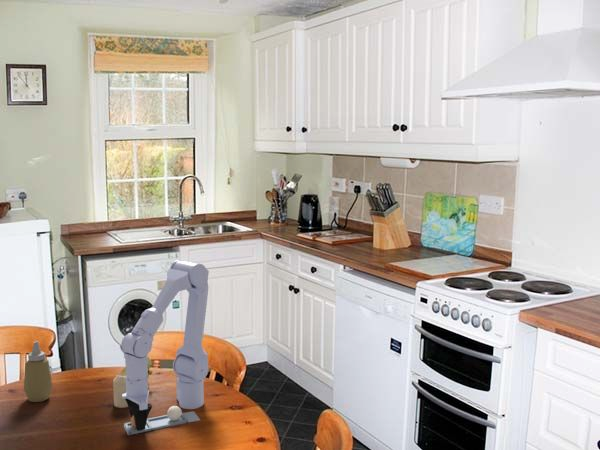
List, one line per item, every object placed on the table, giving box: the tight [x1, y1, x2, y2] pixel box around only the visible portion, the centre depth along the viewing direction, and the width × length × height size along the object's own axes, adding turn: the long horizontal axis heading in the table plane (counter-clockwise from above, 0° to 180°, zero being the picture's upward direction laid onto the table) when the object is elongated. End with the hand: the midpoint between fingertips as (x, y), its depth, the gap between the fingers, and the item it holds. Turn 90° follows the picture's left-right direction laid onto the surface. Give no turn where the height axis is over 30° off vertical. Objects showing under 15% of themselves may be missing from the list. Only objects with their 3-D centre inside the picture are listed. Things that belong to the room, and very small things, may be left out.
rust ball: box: [130, 416, 136, 428], centre depth 169 cm, size 4×4×4 cm
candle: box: [112, 373, 128, 409], centre depth 184 cm, size 6×6×10 cm
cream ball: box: [166, 405, 183, 421], centre depth 174 cm, size 4×4×4 cm
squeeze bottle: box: [23, 341, 53, 403], centre depth 188 cm, size 8×8×18 cm
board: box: [123, 410, 201, 436], centre depth 173 cm, size 6×20×2 cm, turn 117°
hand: (138, 424), depth 169 cm, fingers open, 5 cm apart
